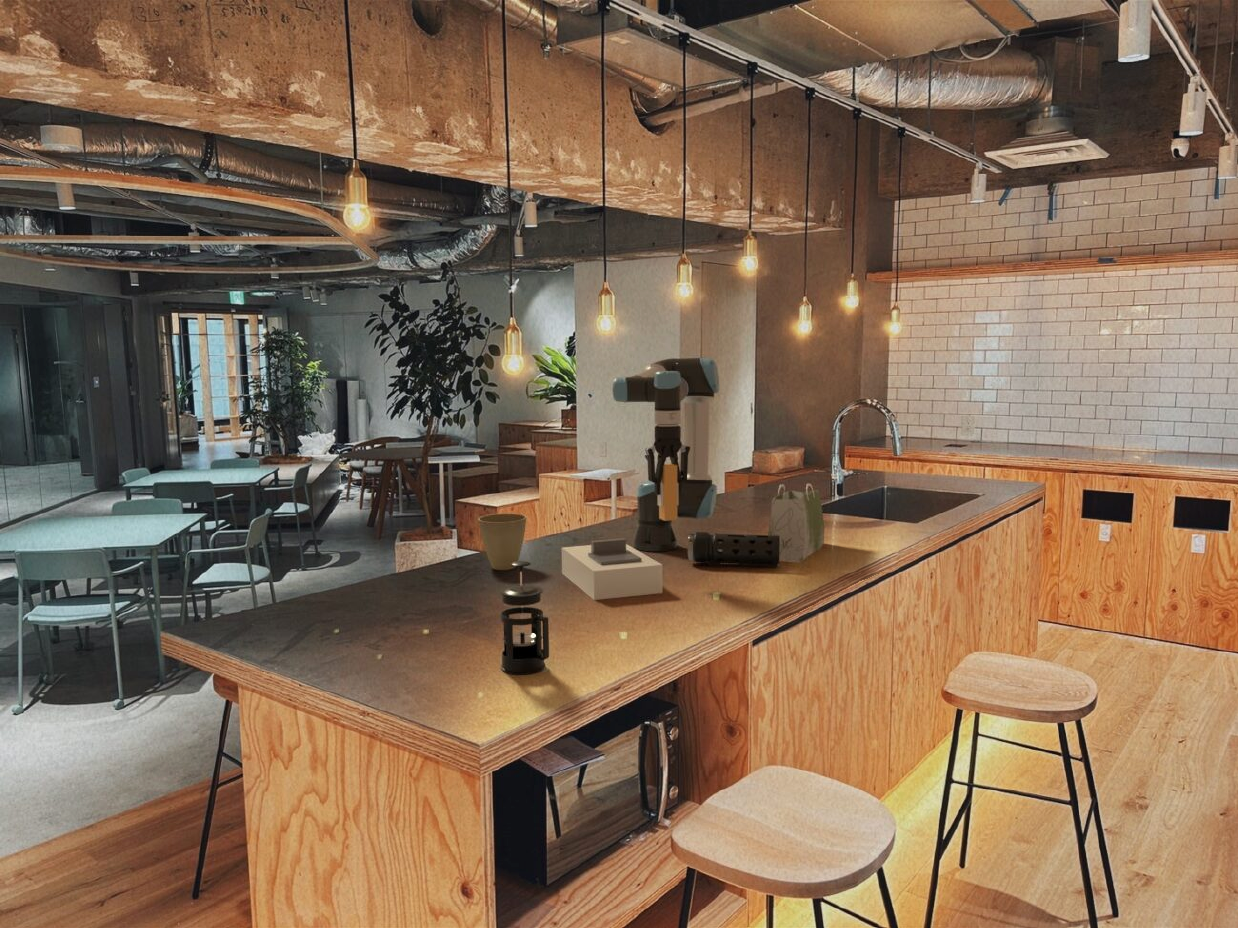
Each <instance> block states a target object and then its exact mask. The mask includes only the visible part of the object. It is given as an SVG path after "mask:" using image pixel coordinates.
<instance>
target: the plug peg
mask: <svg viewBox="0 0 1238 928" xmlns="http://www.w3.org/2000/svg"><path fill="white" fill-rule="evenodd" d="M661 483H662V484H664V506H662V507H661V506H659V519H662V520H664V521H669V520H672V521H678V518H677V465H674V464H671V463H665V464H664V466H663V475H662V480H661Z"/></svg>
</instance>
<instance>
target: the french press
mask: <svg viewBox="0 0 1238 928" xmlns="http://www.w3.org/2000/svg"><path fill="white" fill-rule="evenodd" d="M531 564H532V563H531V562H529V561H525V560H518V561H517V562H513V563H511V566H515V568H516V567H517V568H518V572H519V578H520V579H519V581H520V583H519V585H511V586H507V587H503V588H501V589H500V591H499V594H500V595H501V596H502V597H501V598H502V602H503V604H505V605H509V606H516V607H512V608H507V609H505V610H502V611H501V613H500V621H501V622H502V623H503V638H502V641H503V649H504V650H502V652H501V666H500V669H501V671H502V672H504V673H506V674H509V675H516V676H526V675H527V676H529V675H533V674H537V673H539V672H542V671H543V670H544V669H545V668H546V663H545V660H547V659H549V658H550V629H549V617H547V616H544V612H543V610H542V609H539V608H538V607H537V608H536V607H531V606H530V605H536V604H538V603H540V601H541V597H542V594H543V592H544V591H543V588H542V587H539V586H537V585H531V584H529V585H528V584H527V585H526V584H525V585H524V584H523V572H524V567H528V566H531ZM516 614H520V618H510V615H516ZM524 614H530V617H528V618H524ZM529 625H530V627H531V632H529V631H528V632H527V631H525V632H524V626H529ZM514 626H521V627H520V628H521V631H520V632H515V633H514V628H513V627H514Z"/></svg>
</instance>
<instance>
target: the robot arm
mask: <svg viewBox="0 0 1238 928" xmlns="http://www.w3.org/2000/svg"><path fill="white" fill-rule="evenodd" d="M719 379H720V378H719V372H718V367H717V363H716V362H715V360H714V359H712V358H706V357H705V358H704V357H694V358H693V357H691V358H689V357H688V358H685V357H684V358H675V357H674V358H673V357H671V358H664V359H662V360H658V361H655V362H652V363H650V364H648V365H646V366H645V367H644V368H643V369H642V370H641V372H638V373H635V374H634V375H632V376H618V377H615V378H614V380H613V383H612V396H613V399H614V401H615V402H617V403H618V402H619V403H624V404H625V403H654V424H655V426H654V442H653V445H652V446H650V447H646V448H644V449H645V450H644V451H645V453H646V459H647V480H646V481H642V482H641V483H639V484H638V487H637V526H636V530H635V533H634V536H633V540H632V548H634V549H636V550H638V551H643V552H644V551H645V552H666V551H671V550H672V551H673V550H675V549H676V548H677V547H678V540H677V537H676V533H675V530H674V528H673V520H669V521H664V520H662V519H659V506H661V507H662V506H664V484H662V483H661V480H662V475H663V466H664V464H666V460H667V458H669V460H670V464H674V465H677V519H695V520H701V519H709V518H710V517H711V518H712V516H713V514H714V511H715V508H716V507H715V506H716V501H717V494H718V488H717V484H715V483H713V478H712V477H711V476H710V475H709V440H710V438H709V437H710V436H709V435H710V432H709V431H710V403H711V402H712V401H713V400H715V394H717V393H719V392H720V380H719ZM681 402H682V403H683V431H682V430H681V428H682V427H681V426H680V424H681V421H682V419H681V415H682V414H681ZM682 432H683V436H682V434H681V433H682ZM681 436H682V437H683V438H682V441H681ZM656 452H657V462H656V460H655V459H656V458H655V453H656ZM679 452H680V464H679V455H678V453H679Z"/></svg>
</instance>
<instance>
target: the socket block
mask: <svg viewBox="0 0 1238 928" xmlns="http://www.w3.org/2000/svg"><path fill="white" fill-rule="evenodd" d="M626 550H628V551H630V552H632V553H633V554H635V555H637V556H639V557H640V558H641V561H636V562H626V563H615V564H604V565H601V564H599V563H598V562H596V561H595V560H594V559H592V558H591V557H589V556H588V553H591V544H588V545H576V546H565V547H561V573H562V575H564V577H566V578H567V579H568V580H570V582H572V583H573V584H574V585H575V586H576V587H577V588H579V589H580V590H581V591H582V592H584V593H585V594H586V595H587V596H589V597H590V598H591V599H592V600H593V601H597V600H608V599H618V598H626V597H637V596H645V595H654V594H656V595H657V594H663V591H664V590H663V564H662V563H660V562H659V561H657V560H656V559H653V558H651V557H650V556H648V555H646V554H644V553H643V552H641V551H640V550H638V549H635V548H633V546H631V545H629V544H627V543H626Z"/></svg>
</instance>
